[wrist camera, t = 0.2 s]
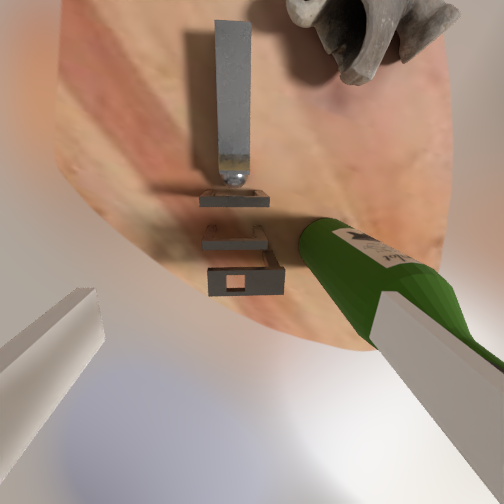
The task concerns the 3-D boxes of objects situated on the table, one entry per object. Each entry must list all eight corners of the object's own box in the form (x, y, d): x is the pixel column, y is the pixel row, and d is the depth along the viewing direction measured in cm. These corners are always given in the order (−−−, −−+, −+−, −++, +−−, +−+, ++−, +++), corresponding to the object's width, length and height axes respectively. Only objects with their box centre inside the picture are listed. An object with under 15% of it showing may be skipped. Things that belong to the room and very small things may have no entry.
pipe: (329, 24, 36) (272, 65, 31) (352, -74, 28) (280, -41, 23) (434, 61, 32) (388, 116, 27) (497, -42, 24) (449, 8, 19)
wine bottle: (354, 218, 39) (798, 409, 8) (344, 268, 42) (642, 542, 11) (301, 216, 38) (578, 418, 8) (294, 267, 41) (473, 559, 11)
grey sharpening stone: (216, 38, 29) (214, 19, 26) (249, 40, 30) (251, 22, 26) (220, 187, 36) (219, 189, 32) (247, 187, 36) (249, 189, 32)
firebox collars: (206, 190, 36) (196, 198, 26) (275, 190, 36) (290, 199, 27) (210, 265, 40) (203, 296, 30) (271, 264, 41) (283, 294, 31)
